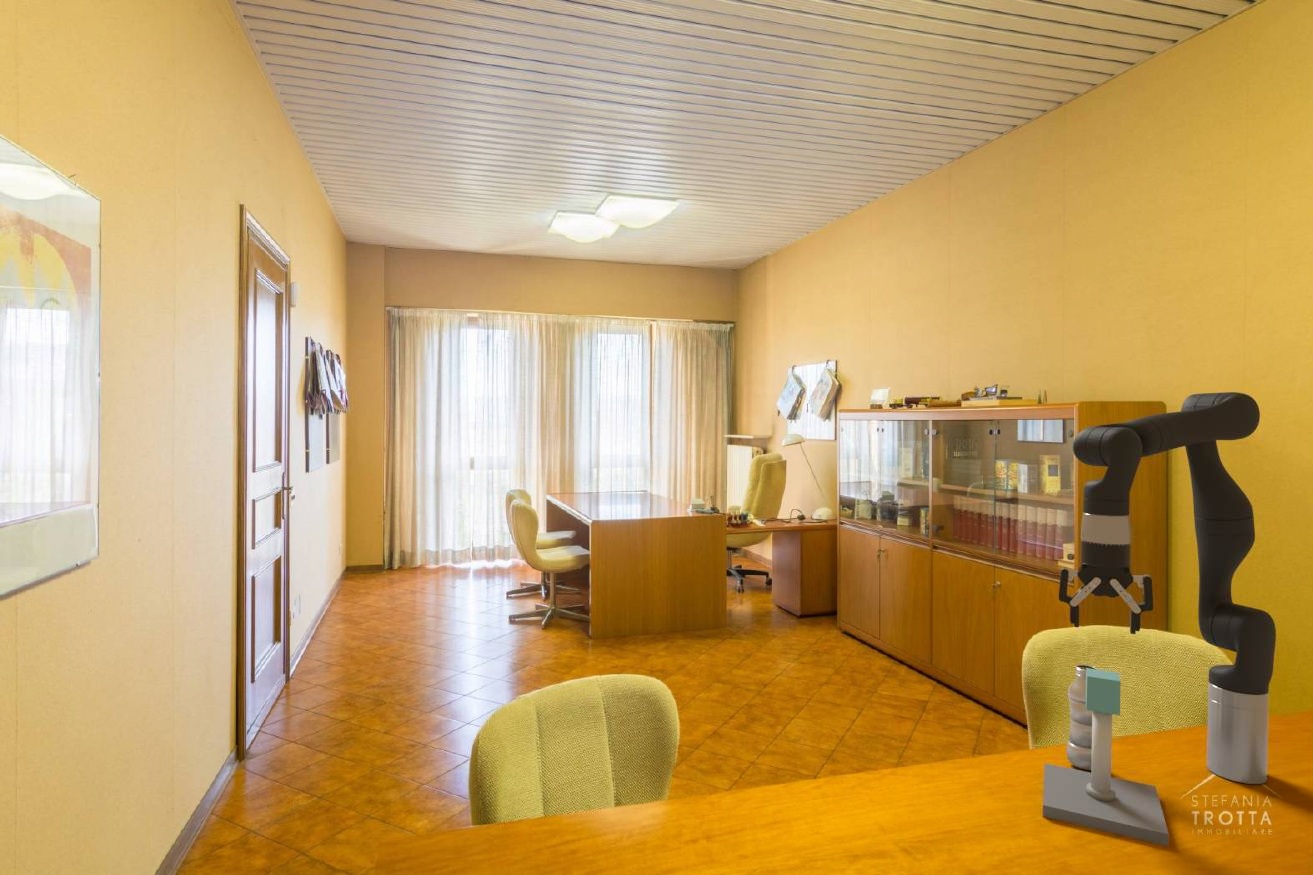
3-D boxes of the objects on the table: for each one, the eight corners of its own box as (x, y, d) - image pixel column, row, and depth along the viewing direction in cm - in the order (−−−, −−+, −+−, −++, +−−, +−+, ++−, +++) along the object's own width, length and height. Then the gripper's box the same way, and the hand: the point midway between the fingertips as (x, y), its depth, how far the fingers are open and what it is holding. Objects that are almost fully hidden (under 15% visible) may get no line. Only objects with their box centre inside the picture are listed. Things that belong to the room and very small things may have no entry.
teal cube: (1085, 700, 132) (1086, 667, 132) (1117, 705, 130) (1118, 672, 130) (1086, 709, 128) (1087, 676, 128) (1119, 715, 125) (1120, 681, 125)
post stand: (1044, 773, 141) (1045, 682, 141) (1155, 796, 133) (1157, 699, 132) (1042, 816, 126) (1044, 713, 125) (1168, 846, 117) (1170, 736, 116)
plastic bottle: (1093, 760, 147) (1094, 662, 147) (1110, 776, 140) (1112, 674, 140) (1059, 758, 148) (1061, 661, 147) (1075, 774, 141) (1077, 672, 141)
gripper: (1151, 539, 128) (1149, 630, 128) (1059, 533, 135) (1058, 619, 135) (1156, 545, 121) (1154, 641, 122) (1059, 538, 128) (1058, 629, 129)
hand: (1103, 629), depth 128 cm, fingers open, 8 cm apart
